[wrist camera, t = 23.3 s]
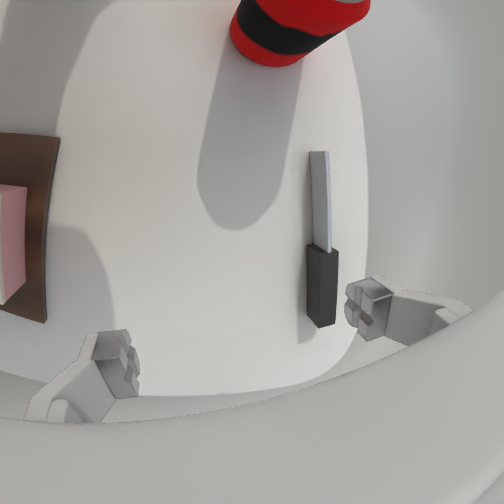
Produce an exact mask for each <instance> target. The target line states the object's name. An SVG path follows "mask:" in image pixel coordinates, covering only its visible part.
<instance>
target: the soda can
mask: <svg viewBox="0 0 504 504" xmlns="http://www.w3.org/2000/svg"><path fill="white" fill-rule="evenodd" d="M369 9H370V0H241V2H240V4H239V6H238V8H237V10H236V12H235V15H234V17H233V19H232V21H231V25H230V33H231V37H232V40H233V42H234V44H235V46H236V47H237V49H238V50H239V51H240V52H241V53H242V54H243V55H245V56H246V57H247V58H249V59H251V60H253V61H254V62H256V63H259V64H262V65H266V66H272V67H282V66H288V65H290V64H293V63H295V62H297V61H298V60H300V59H301V58H303V57H304V56H305V55H307V54H308V53H310V52H311V51H313V50H314V49H315V48H317V47H318V46H320V45H321V44H323V43H324V42H326V41H327V40H329V39H330V38H332V37H333V36H335V35H337V34H338V33H340V32H341V31H343V30H345V29H346V28H348V27H349V26H351V25H353V24H354V23H356V22H358V21H360V20H361V19H363V18H364V17H365V15H367V13H368V11H369Z"/></svg>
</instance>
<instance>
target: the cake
mask: <svg viewBox="0 0 504 504" xmlns="http://www.w3.org/2000/svg"><path fill="white" fill-rule="evenodd" d="M59 143H60V138H57V137H49V136H39V135H29V134H16V133H1V132H0V184H3V185H12V186H20V187H27V198H26V213H25V270H26V282H25V283H24V284H23V285H22V286H21V287H20V288H19V289H18V290H17V291H16V292H15V293H14V294H13V295H12V296H11V297H10V298H9V299H8V300H7V301H6V302H5V303H4V304H3V305H1V304H0V310H3V311H6V312H9V313H12V314H15V315H18V316H21V317H24V318H27V319H30V320H34V321H37V322H40V323H45V321H46V320H47V313H46V294H45V249H46V231H47V218H48V208H49V200H50V192H51V185H52V179H53V173H54V167H55V162H56V157H57V152H58V148H59Z"/></svg>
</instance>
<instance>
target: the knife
mask: <svg viewBox="0 0 504 504" xmlns="http://www.w3.org/2000/svg"><path fill="white" fill-rule="evenodd" d="M310 164H311V182H312V204H313V241H314V244H311V245H307V246H306V248H307V315H308V317H309V318H310V319H311V320H312V321H313V323H314V324H315V325H316V326H317V327H318V328H322V327H325V326H329V325H332V324H335V318H336V303H337V284H338V255H339V252H338V251H337V250H336V249H334V248H332V247H331V187H330V164H329V151H317V152H310Z"/></svg>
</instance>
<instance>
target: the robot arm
mask: <svg viewBox="0 0 504 504" xmlns="http://www.w3.org/2000/svg"><path fill="white" fill-rule="evenodd" d="M345 294H346V296H347V297H348V299H347V301H346V303H345V305H344V313H345V317H346V319H347V321H348V323H349V324H350V325H351V326H353V327H356V328H358V333H359V334H360V335H361V336H362V337H363V338H364V339H365V340H366V341H370V340H373V339H376V338H379V337H381V336H384V335H385V337H387V338H390V339H392V340H394V341H397V342H399V343H402V344H404V345H406V346H408V347H406V348H405V349H402V350H400V351H398V352H396V353H394V354H392V355H389V356H387V357H385V358H383V359H380V360H378V361H376V362H373V363H371V364H369V365H366V366H364V367H361V368H359V369H356V370H354V371H351V372H348V373H346V374H343V375H341V376H338V377H335V378H332V379H329V380H327V381H324V382H321V383H318V384H315V385H312V386H309V387H306V388H303V389H300V390H297V391H293V392H290V393H286V394H283V395H279V396H276V397H272V398H268V399H265V400H261V401H257V402H253V403H249V404H245V405H240V406H235V407H231V408H226V409H221V410H216V411H211V412H205V413H199V414H194V415H187V416H180V417H173V418H165V419H156V420H146V421H136V422H135V421H134V422H121V423H120V422H118V423H101V421H102V420H103V418H104V417H105V415H106V414H107V413H108V411H109V410H110V408H111V407H112V405H113V404H114V403H115V401H116V400H115V399H123V398H132V397H138V391H139V382H138V380H137V376H138V375H139V374H140V365H139V359H138V355H137V352H136V350H135V348H133V347H132V346H131V345H130V344H131V337H130V335H129V332H128V331H127V330H126V329H121V330H113V331H104V332H95V333H89V334H87V335H86V337H85V339H84V342H83V345H82V347H81V350H80V353H79V356H78V359H77V362H72V363H71V364H70V365H69V366H67V367H66V368H65V369H64V370H63V371H61V372H60V373H59V374H58V375H57V376H56V377H54V378H53V379H52V380H51V381H50V382H49V383H47V384H46V385H45V386H44V387H43V388H42V389H40V390H39V391H38V392H37V393H36V394H35V395H34V396H32V397H31V399H30V402H29V405H28V407H27V410H26V413H25V416H24V419H23V420H19V419H11V418H4V417H0V504H504V290H503V291H502V292H500V293H499V294H497V295H496V296H494V297H493V298H492V299H490V300H489V301H487V302H486V303H484V304H483V305H481V306H480V307H478V308H477V309H475V310H472V309H470V308H469V307H467V306H466V305H464V304H463V303H461V302H460V301H458V300H456V299H452V298H446V297H442V296H437V295H432V294H427V293H422V292H417V291H413V290H403V289H402V288H400V287H399V286H398V285H396V284H395V283H393V282H391V281H390V280H388V279H387V278H385V277H384V276H383V275H375V276H372V277H370V278H366V279H363V280H360V281H356V282H353V283H350V284H347V287H346V292H345Z"/></svg>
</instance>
